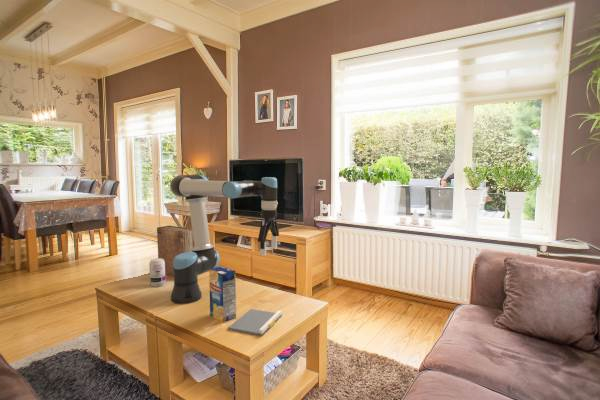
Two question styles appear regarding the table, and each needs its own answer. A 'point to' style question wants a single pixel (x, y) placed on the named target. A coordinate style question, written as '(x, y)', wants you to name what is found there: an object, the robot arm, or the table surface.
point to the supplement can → (157, 272)
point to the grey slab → (255, 322)
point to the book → (173, 244)
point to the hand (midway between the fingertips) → (268, 252)
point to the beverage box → (222, 293)
